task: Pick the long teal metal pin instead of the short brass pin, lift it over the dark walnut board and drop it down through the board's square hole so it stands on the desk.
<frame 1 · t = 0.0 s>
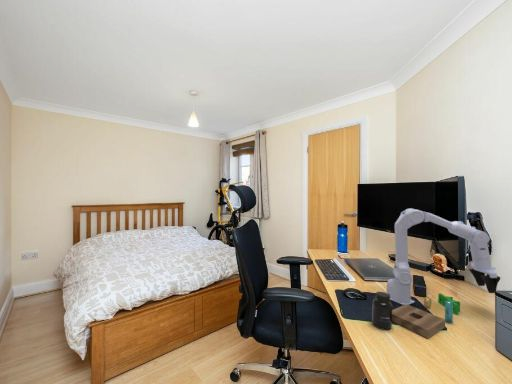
hand: (486, 289, 100), 11 cm above the table, tool pointing down, fingers open, 7 cm apart
bored board: (415, 323, 92), on the table
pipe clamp: (450, 309, 104), on the table
short pin: (427, 307, 105), on the table
long pin: (448, 321, 93), on the table
supplement bottle: (381, 325, 90), on the table
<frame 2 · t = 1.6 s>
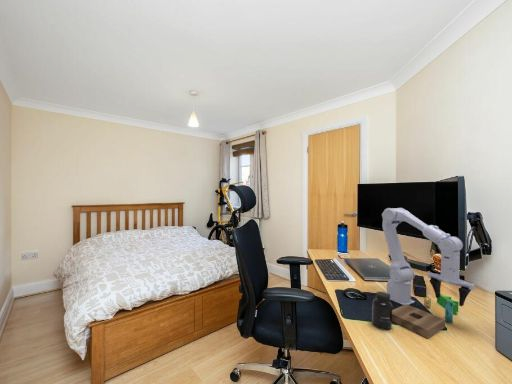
hand: (449, 301, 93), 8 cm above the table, tool pointing down, fingers open, 7 cm apart
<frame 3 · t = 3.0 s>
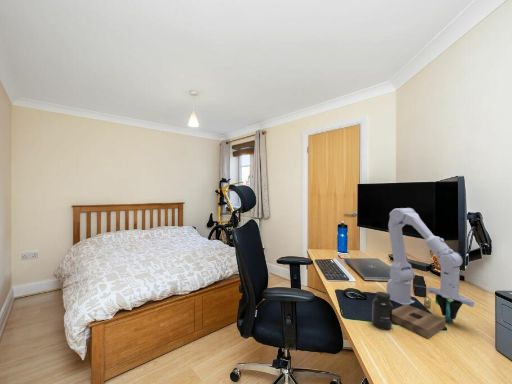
hand: (448, 316, 93), 2 cm above the table, tool pointing down, fingers closed on long pin, 2 cm apart
long pin: (448, 321, 93), on the table, touching gripper
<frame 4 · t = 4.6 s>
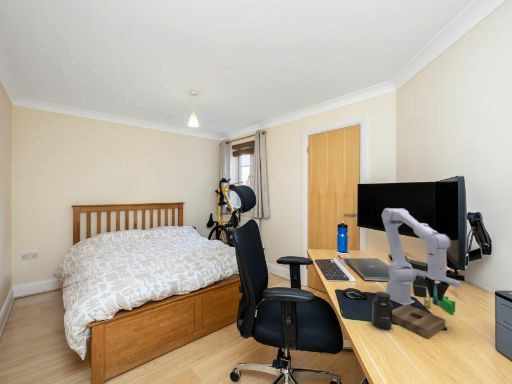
hand: (436, 298, 92), 9 cm above the table, tool pointing down, fingers closed on long pin, 2 cm apart
long pin: (436, 303, 92), point 7 cm above the table, touching gripper
when the fingers open (4 cm above the table, at t = 6.5 s): long pin drops 2 cm, resting in bored board.
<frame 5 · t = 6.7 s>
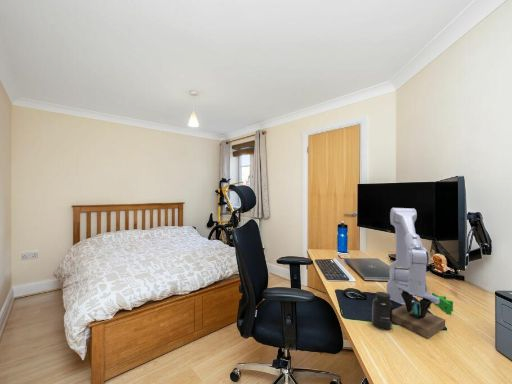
hand: (416, 314, 92), 4 cm above the table, tool pointing down, fingers open, 4 cm apart
long pin: (415, 323, 92), resting in bored board
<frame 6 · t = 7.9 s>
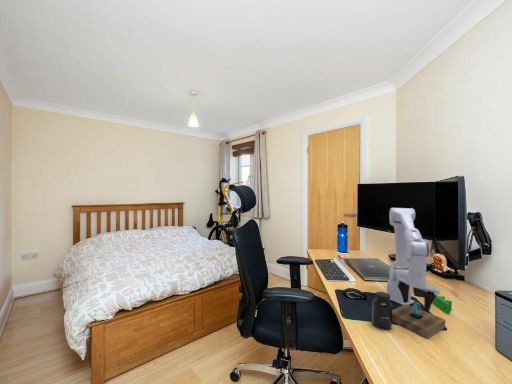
hand: (416, 306, 92), 7 cm above the table, tool pointing down, fingers open, 7 cm apart
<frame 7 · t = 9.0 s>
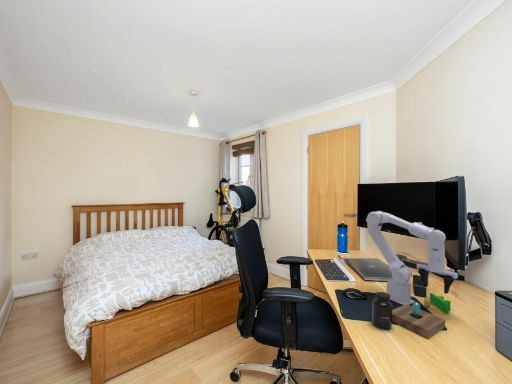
hand: (435, 289, 101), 9 cm above the table, tool pointing down, fingers open, 7 cm apart
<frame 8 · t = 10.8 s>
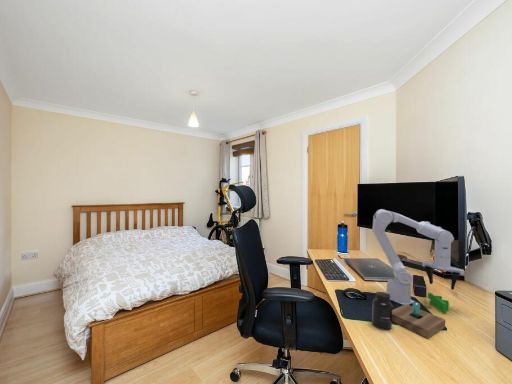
hand: (441, 286, 105), 9 cm above the table, tool pointing down, fingers open, 7 cm apart
at the end: long pin 0.1 cm off-centre on the bored board, point 0.0 cm above the bored board's base; long pin tilted 0°; short pin moved 0.0 cm from its start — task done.
